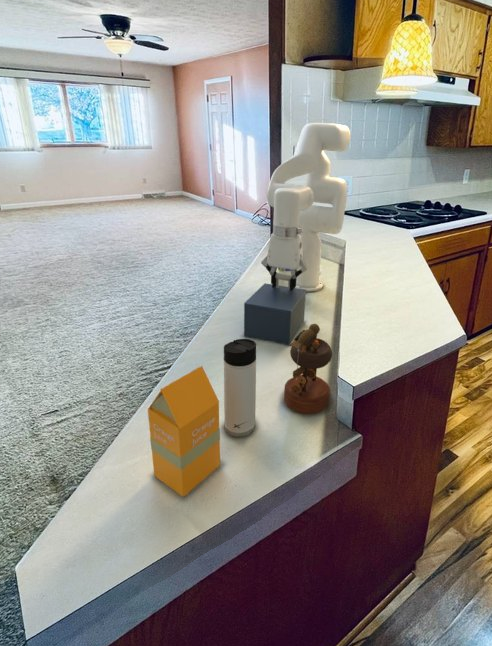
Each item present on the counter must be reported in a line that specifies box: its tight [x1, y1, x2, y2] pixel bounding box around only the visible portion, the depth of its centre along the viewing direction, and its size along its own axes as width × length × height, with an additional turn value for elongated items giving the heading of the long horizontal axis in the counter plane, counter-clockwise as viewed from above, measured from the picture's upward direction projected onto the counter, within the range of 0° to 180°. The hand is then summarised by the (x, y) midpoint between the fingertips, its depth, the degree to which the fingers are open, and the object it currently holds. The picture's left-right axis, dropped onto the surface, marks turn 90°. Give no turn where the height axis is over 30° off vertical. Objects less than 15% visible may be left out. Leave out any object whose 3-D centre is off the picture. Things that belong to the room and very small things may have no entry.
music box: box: [283, 323, 333, 415], centre depth 92 cm, size 15×11×20 cm
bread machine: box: [243, 292, 307, 346], centre depth 124 cm, size 16×14×10 cm
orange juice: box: [147, 365, 221, 498], centre depth 70 cm, size 8×9×20 cm
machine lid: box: [243, 273, 308, 313], centre depth 122 cm, size 17×14×6 cm
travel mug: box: [223, 338, 257, 438], centre depth 81 cm, size 6×7×20 cm
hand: (283, 287), depth 128 cm, fingers closed on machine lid, 5 cm apart
